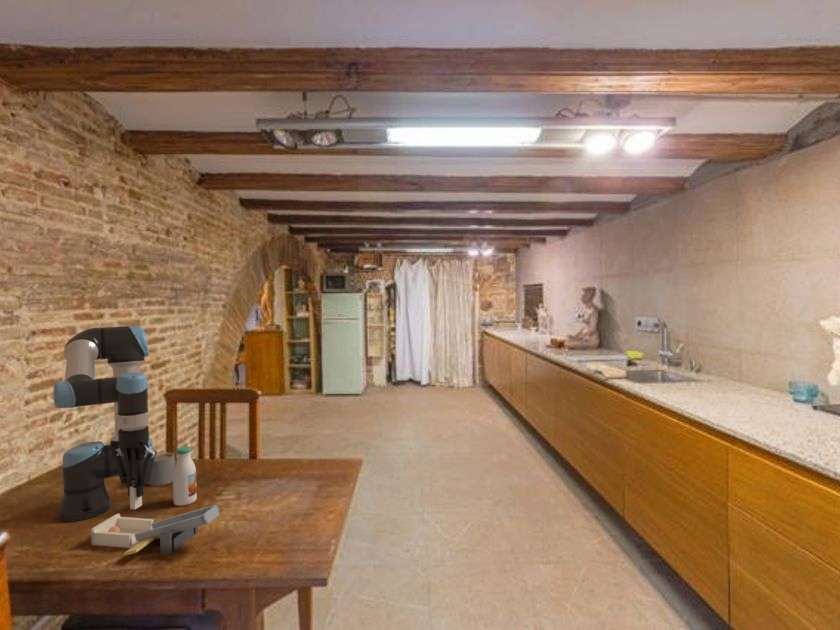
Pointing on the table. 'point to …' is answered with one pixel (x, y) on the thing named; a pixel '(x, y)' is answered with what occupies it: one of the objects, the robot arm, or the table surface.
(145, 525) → the tray
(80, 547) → the table surface
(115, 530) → the ball
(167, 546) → the fulcrum
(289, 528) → the table surface
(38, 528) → the table surface
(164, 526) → the lever
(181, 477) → the milk bottle
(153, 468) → the coffee mug
